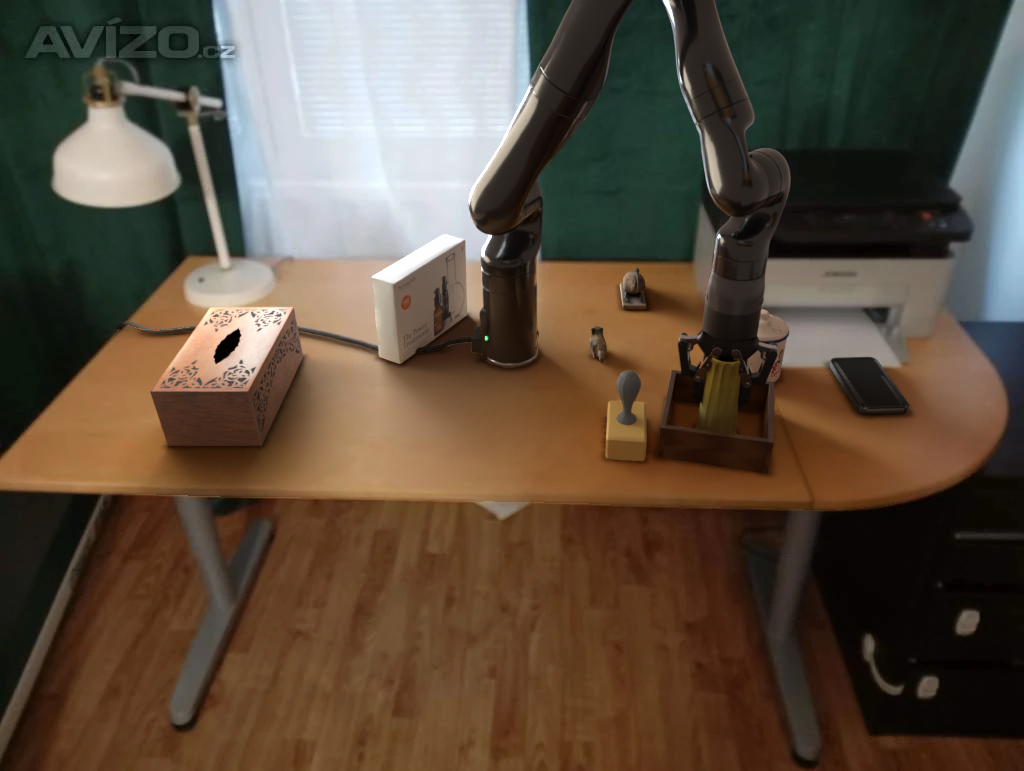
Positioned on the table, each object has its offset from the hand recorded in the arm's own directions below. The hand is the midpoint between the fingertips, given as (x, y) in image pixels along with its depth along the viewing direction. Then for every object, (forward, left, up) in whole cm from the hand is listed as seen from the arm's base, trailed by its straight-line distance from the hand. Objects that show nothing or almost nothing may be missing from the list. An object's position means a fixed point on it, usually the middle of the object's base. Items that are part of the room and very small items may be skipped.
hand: (719, 401), depth 120 cm
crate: (0, 0, -6) cm, 6 cm away
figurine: (-18, +39, -6) cm, 43 cm away
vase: (0, 0, -6) cm, 6 cm away
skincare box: (-53, +18, -6) cm, 56 cm away
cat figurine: (-21, +18, -6) cm, 28 cm away
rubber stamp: (-13, -5, -6) cm, 15 cm away
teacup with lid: (+5, +20, -6) cm, 21 cm away
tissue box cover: (-76, -8, -6) cm, 77 cm away
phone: (+23, +18, -6) cm, 30 cm away
